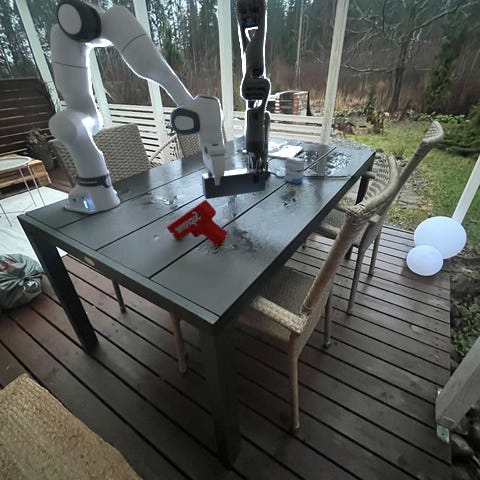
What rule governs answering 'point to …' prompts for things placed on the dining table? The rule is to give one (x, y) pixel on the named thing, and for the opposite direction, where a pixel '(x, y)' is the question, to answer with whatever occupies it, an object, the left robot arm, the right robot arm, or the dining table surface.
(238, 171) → the bar
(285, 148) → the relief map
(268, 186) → the dining table surface
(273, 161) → the dining table surface
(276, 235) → the dining table surface
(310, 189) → the dining table surface
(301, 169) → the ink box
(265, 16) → the right robot arm
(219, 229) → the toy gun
